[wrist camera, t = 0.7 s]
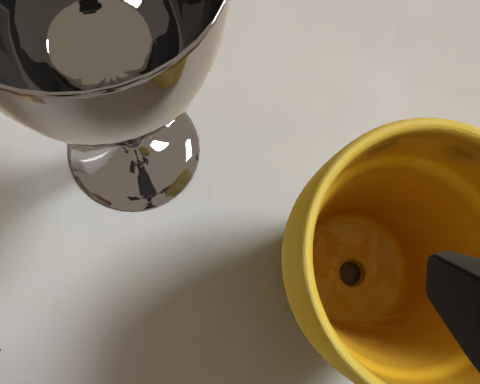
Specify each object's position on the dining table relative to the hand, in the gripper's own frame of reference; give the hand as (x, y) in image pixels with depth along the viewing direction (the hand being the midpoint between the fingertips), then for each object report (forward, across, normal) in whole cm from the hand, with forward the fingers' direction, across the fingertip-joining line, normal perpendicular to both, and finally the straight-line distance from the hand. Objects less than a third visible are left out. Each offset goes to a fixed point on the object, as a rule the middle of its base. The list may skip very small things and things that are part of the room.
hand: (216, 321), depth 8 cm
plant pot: (+13, -8, +9) cm, 18 cm away
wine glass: (+18, +2, +1) cm, 18 cm away
